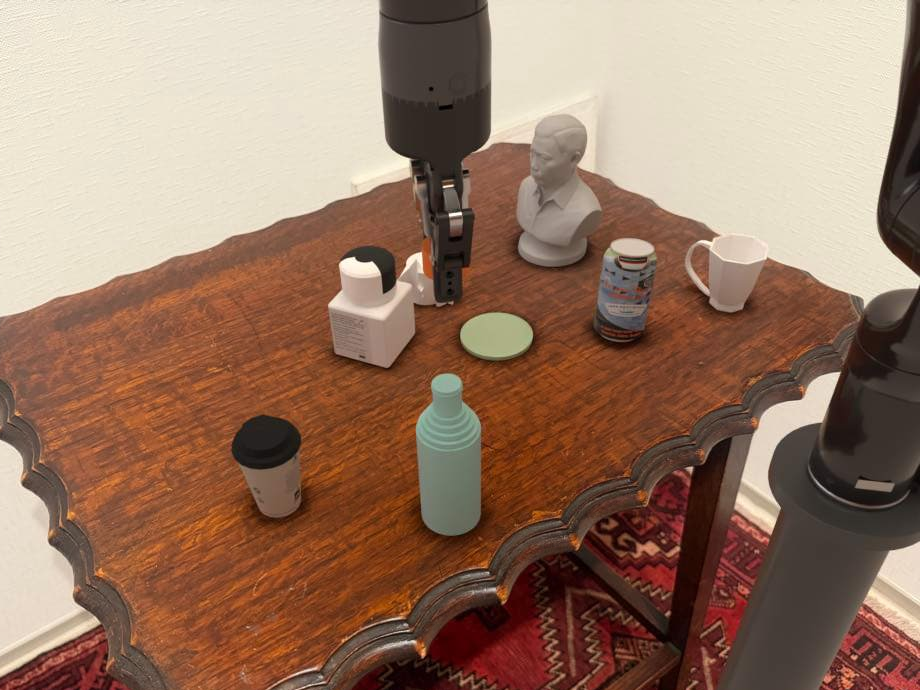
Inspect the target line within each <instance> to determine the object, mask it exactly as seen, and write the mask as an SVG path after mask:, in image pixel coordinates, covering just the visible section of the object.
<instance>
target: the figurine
mask: <svg viewBox="0 0 920 690" xmlns="http://www.w3.org/2000/svg"><path fill="white" fill-rule="evenodd" d="M532 138H533V139H532V141H531V144H530V147H529V150H530V153H529V163H530V175H528V176H527V177H525V178H524V179H523V180H522V181H521V184H520V186H519V190H518V195H517V202H516V203H517V205H516V212H515V217H516V219H517V223H518V224H519V226H520V227H521V228H522V230H523V233H521V234H520V236H519V240H518V245H517V250H518V254H519V255H520V257H521V258H523V259H524V260H525V261H527V262H528V263H530V264H533V265H537V266H540V267H548V268H558V267H565V266H569V265H573V264H574V263H577V262H579V261H580V260H582V258H583V257H584V256H585V255H586V252H587V247H588V239H587V237H589V236H590V235H593V233H595V232H597V231H598V230H599V227H600V224H601V222H602V219H603V215H604V214H603V209H602V207H601V204H600V202H599V200H598V197H597V196H596V194H595V193H594V192H593V189H592V188H591V187H590V186H588V185H587V184H586V183H585V182H584V181H583V180H582V179H581V177H580V176H579V173H578V169H577V165H578V164H579V163H580V162H581V161H582V159H583V157H584V156H585V152H586V149H587V145H588V132H587V129H586V126H585V125H584V124H583V123H582V121H580V120H579V119H578V118H576V116H573V115H572V114H567V113H559V114H553V115H548V116H545V117H544V118H542V119H541V120H540V121H538V123H537V124H536V125H535V128H534V136H533V137H532Z"/></svg>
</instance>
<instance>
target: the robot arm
mask: <svg viewBox="0 0 920 690" xmlns="http://www.w3.org/2000/svg"><path fill="white" fill-rule="evenodd" d="M377 3H378V19H379V21H378V33H377V34H378V36H377V37H378V38H377V47H378V48H377V49H378V50H377V51H378V64H379V75H380V87H381V100H382V101H381V102H382V113H383V125H384V126H383V127H384V128H383V129H384V138H385V141H386V144H387V146H388V147H389V148H390V149H391V150H392V151H393V152H394V153H396V154H397V155H399V156H401V157H404V158H405V159H409V160H408V166H409V167H408V169H409V174H410V180H411V182H412V199H413V202H414V207H415V210H416V211H417V212H419V218H418V226H420V229H421V230H422V241H423V240H424V239H425V238H426V237H428V238H430V249H431V255H430V261H432V270H433V292H434V297H435V300H436V302H438V303H446V302H453V301H454V302H458V301H460V300H461V299H462V298H463V292H464V290H463V278H462V268H468V267H470V262H471V263H472V246H473V236H474V226H475V225H474V224H475V220H476V216H475V212H474V209H473V208H472V207H470V206H469V205H470V204H469V195H470V194H471V191H472V182H471V181H472V179H471V172H470V169H469V167H466V168H465V167H464V165H465V164H464V160H465V158H467V157H468V156H470V155H472V154H474V153H475V152H478V151H479V150H480V149H482V148H483V147H484V146H485V145H486V144H487V142H488V141H489V140H490V137H491V134H492V60H493V59H492V55H493V54H492V47H493V45H492V44H493V43H492V29H491V20H490V13H489V1H488V0H378V2H377ZM905 6H906V7H905V9H906V10H905V27H904V38H903V47H902V53H901V54H902V56H901V64H900V73H899V81H898V92H897V103H896V110H895V117H894V123H893V126H892V132H891V137H890V142H889V147H888V151H887V155H886V160H885V165H884V168H883V175H882V178H881V183H880V187H879V192H878V198H877V204H876V206H877V207H876V216H875V218H876V228H877V233H878V235H879V238H880V240H881V241H882V243H883V244H884V245H885V247H886V248H887V250H888V251H889V252H890V253H891V254H893V255H894V256H895V257H896V258H897V259H898V260H899V261H900V262H901V263H903V264H904V265H905V266H906V267H907V268H908V269H909V270H911V271H912V272H913V274H916V276H917V277H919V278H920V0H906V5H905ZM454 302H453V303H454ZM446 304H447V303H446ZM821 422H822V424H821V427H820V430H819V432H818V435H817V438H816V440H815V443H814V446H813V448H812V450H811V452H810V454H809V456H808V459H807V462H806V471H807V475H808V477H809V479H810V481H811V482H812V484H813V485H814V486H815V487H816V488H817V489H818V490H819V491H820V492H821V493H822V494H823V495H825V496H826V497H828V498H829V499H831V500H832V501H834V502H836V503H838V504H841V505H843V506H846V507H849V508H852V509H856V510H862V511H884V510H888V509H892V508H894V507H896V506H898V505H900V504H901V503H902V502H903V501H904V500H905V499H906V498H907V496H908V494H910V493H916V492H917V491H918V489H919V487H920V284H919V285H918V288H915V287H914V288H913V287H911V288H897V289H892V290H888V291H885V292H882V293H879V294H878V295H876V296H875V297H873V298H871V300H870V301H868V303H867V304H866V305H865V307H864V309H863V311H862V314H861V316H860V319H859V321H858V324H857V326H856V330H855V332H854V335H853V338H852V340H851V342H850V346H849V349H848V351H847V354H846V357H845V359H844V363H843V365H842V368H841V370H840V373H839V376H838V379H837V381H836V384H835V387H834V388H833V391H832V395H831V398H830V400H829V402H828V406H827V408H826V411H825V413H824V417H823V419H822V421H821Z"/></svg>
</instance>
